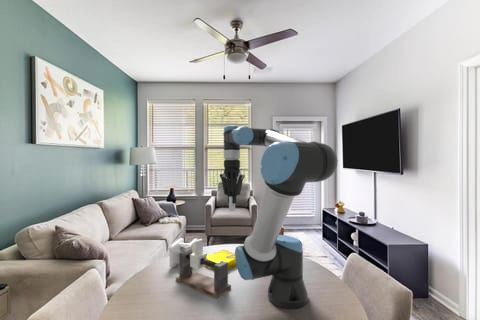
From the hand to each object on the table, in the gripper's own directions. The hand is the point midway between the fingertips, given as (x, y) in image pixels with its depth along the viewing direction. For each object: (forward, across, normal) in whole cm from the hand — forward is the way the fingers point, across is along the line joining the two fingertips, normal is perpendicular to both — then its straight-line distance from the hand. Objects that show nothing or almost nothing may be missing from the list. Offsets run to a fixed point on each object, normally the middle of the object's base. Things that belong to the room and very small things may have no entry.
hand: (232, 210), depth 112 cm
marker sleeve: (+23, +9, +13) cm, 28 cm away
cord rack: (+30, +6, +13) cm, 34 cm away
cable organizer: (+31, +29, +3) cm, 42 cm away
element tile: (+31, +13, -8) cm, 35 cm away
